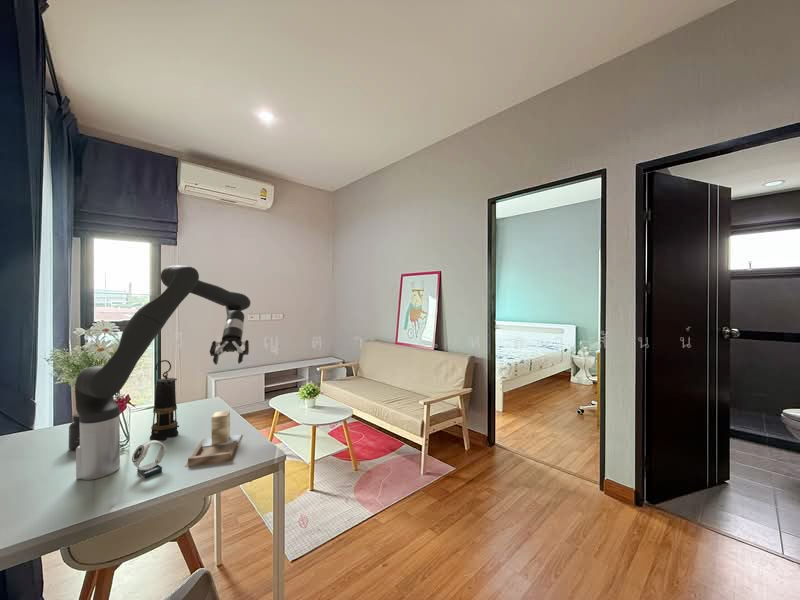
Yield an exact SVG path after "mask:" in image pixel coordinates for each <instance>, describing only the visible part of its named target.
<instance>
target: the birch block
mask: <svg viewBox="0 0 800 600" xmlns="http://www.w3.org/2000/svg"><path fill="white" fill-rule="evenodd" d="M230 423H231V411H230V410H224V411H215V412H214V413H213V414H212V416H211V438H212V444H219V443H227V441H228V439H229V437H230V436H231V424H230Z"/></svg>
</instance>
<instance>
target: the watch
mask: <svg viewBox="0 0 800 600" xmlns="http://www.w3.org/2000/svg"><path fill="white" fill-rule="evenodd" d="M153 444H158V445H159V444H160V450H159V451H158V454H157V456H156V458H155V460H154V461H153V462H150V463H148V464H145V465H142V466H140V465H141V463H142V462H143V460H144V459H145V458H146V456H147V455H148V451H149V448H150V447H151V445H153ZM166 452H167V451H166V446H165V444H164V443H162V441H156V440H148V441H145V442H144V443H142V444H140V445H139V446H138V447H137V448H136V449H135V450H134V452H133V454H132V457H131V461H132V464H133V465H134V466H135V468H136V469H137V475H138V476H139V477H141V478H143V479H144V480H147V479H150V478H152V477H154V476H156V475H159V474H163V466H161V465H159V464H161V462H162V460H163V458H164V456H165V455H166V454H165V453H166Z"/></svg>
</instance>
